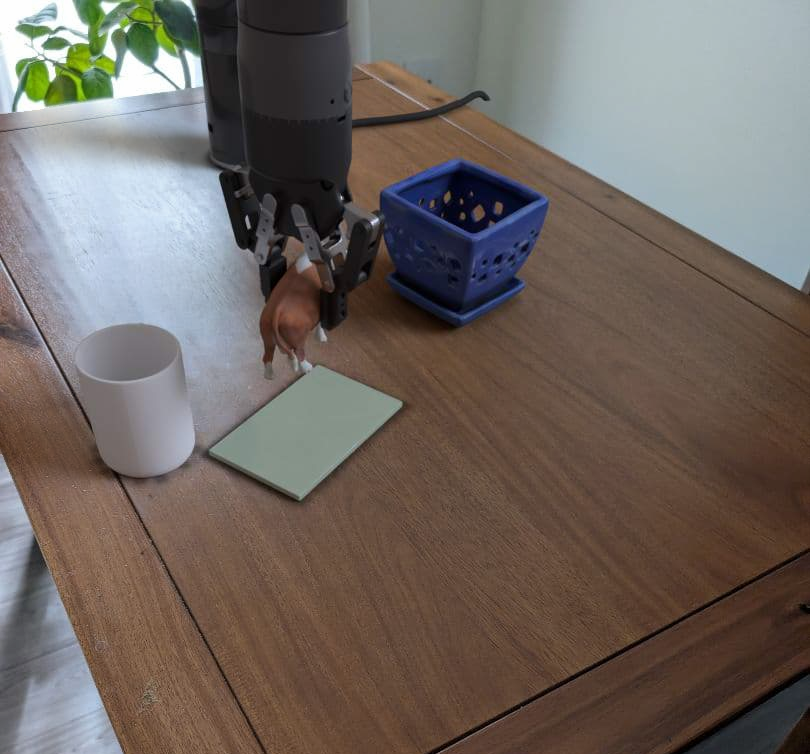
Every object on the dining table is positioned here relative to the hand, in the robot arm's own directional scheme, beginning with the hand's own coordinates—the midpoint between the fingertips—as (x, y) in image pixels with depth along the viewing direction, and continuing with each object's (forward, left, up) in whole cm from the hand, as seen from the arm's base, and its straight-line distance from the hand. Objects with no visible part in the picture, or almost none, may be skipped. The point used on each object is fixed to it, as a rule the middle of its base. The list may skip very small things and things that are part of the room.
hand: (304, 313), depth 70 cm
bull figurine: (0, 0, -4) cm, 4 cm away
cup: (+9, -11, -12) cm, 19 cm away
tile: (0, 0, -12) cm, 12 cm away
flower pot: (-28, -1, -12) cm, 31 cm away
